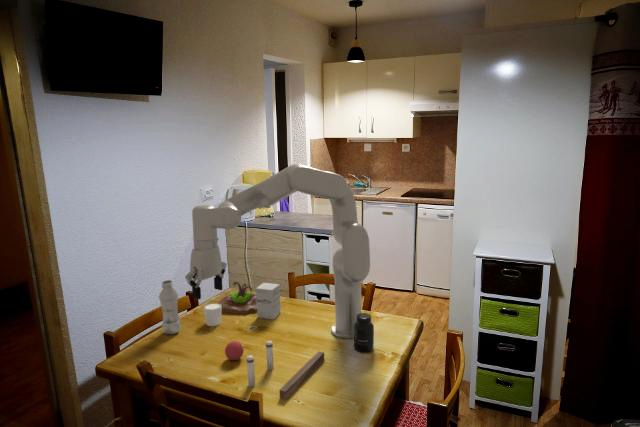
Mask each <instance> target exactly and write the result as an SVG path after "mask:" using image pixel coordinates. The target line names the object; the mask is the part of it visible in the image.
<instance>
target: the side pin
mask: <svg viewBox="0 0 640 427" xmlns="http://www.w3.org/2000/svg"><path fill="white" fill-rule="evenodd" d="M246 368H247V369H246V370H247V381H248V382H247V383H248V387H249V388H253V387H255V386H256V376H255V358H254V355H251V354H250V355H249V354H248V355H247V356H246Z"/></svg>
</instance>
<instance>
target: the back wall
mask: <svg viewBox="0 0 640 427" xmlns="http://www.w3.org/2000/svg"><path fill="white" fill-rule="evenodd" d="M324 361H325V352H324V351H320V350H319V351H317V352H316V353H315V354H314V355H313V356H312V357H311V358H310V359H309V360H308V361H307V362H306V363H305V364H304V365H303V366H302V367H301V368H300V369H299V370H298V371H297V372H296V373H295V374H294V375H293V376H292V377H291V378H290V379H289V380H288V381H287V382H286V383H284V385H282V386H281V388H279V391H278V392H279V399H282V398H284V399H283V400H285V399H286V400H287V399H288V398H289V397H290V396H292V394H293V393H294V392H295V391H296V390H297V389H298V388H299V387H300V386H301V384H302V383H304V381H305V380H307V378H308V377H309V376H311V374H312V373H313V372H314V371H315V370H316V369H317V368H318V367H319V366H320V364H322V363H323V362H324Z"/></svg>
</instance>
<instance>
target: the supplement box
mask: <svg viewBox="0 0 640 427" xmlns="http://www.w3.org/2000/svg"><path fill="white" fill-rule="evenodd" d="M280 288H281V287H280V284H278V283H270V282H262V283H261V284H259V285H258V286H257V287H256V288H255V294H256V299H257V313H256V315H257V316H256V317H257V318H260V319H266V320H267V319H268V320H272V321H273V320H275V319H276V318H277V317H278V316H279V315H280V314H281V289H280Z"/></svg>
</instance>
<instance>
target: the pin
mask: <svg viewBox="0 0 640 427" xmlns="http://www.w3.org/2000/svg"><path fill="white" fill-rule="evenodd" d="M273 344H274V343H273V341H272V340H266V342H265V347H266V348H265V350H266V351H265V352H266V366H267V367H266V368H267V370H268V371H273V370H274V367H275V366H274V364H275V363H274V349H273V347H274V345H273Z"/></svg>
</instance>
